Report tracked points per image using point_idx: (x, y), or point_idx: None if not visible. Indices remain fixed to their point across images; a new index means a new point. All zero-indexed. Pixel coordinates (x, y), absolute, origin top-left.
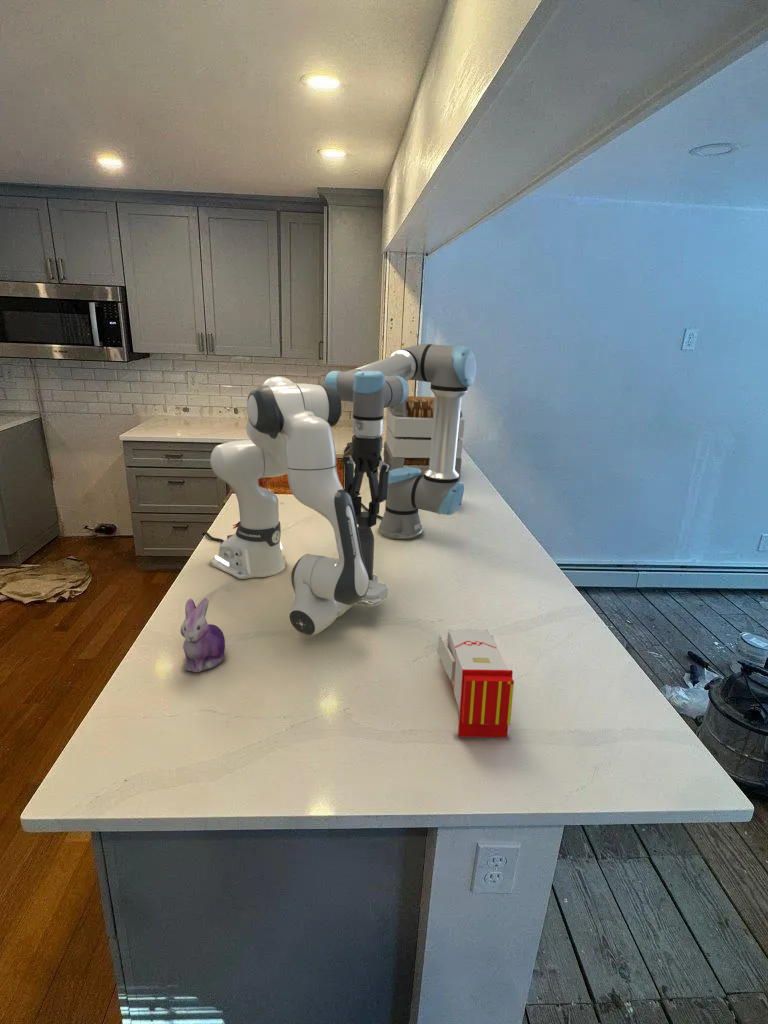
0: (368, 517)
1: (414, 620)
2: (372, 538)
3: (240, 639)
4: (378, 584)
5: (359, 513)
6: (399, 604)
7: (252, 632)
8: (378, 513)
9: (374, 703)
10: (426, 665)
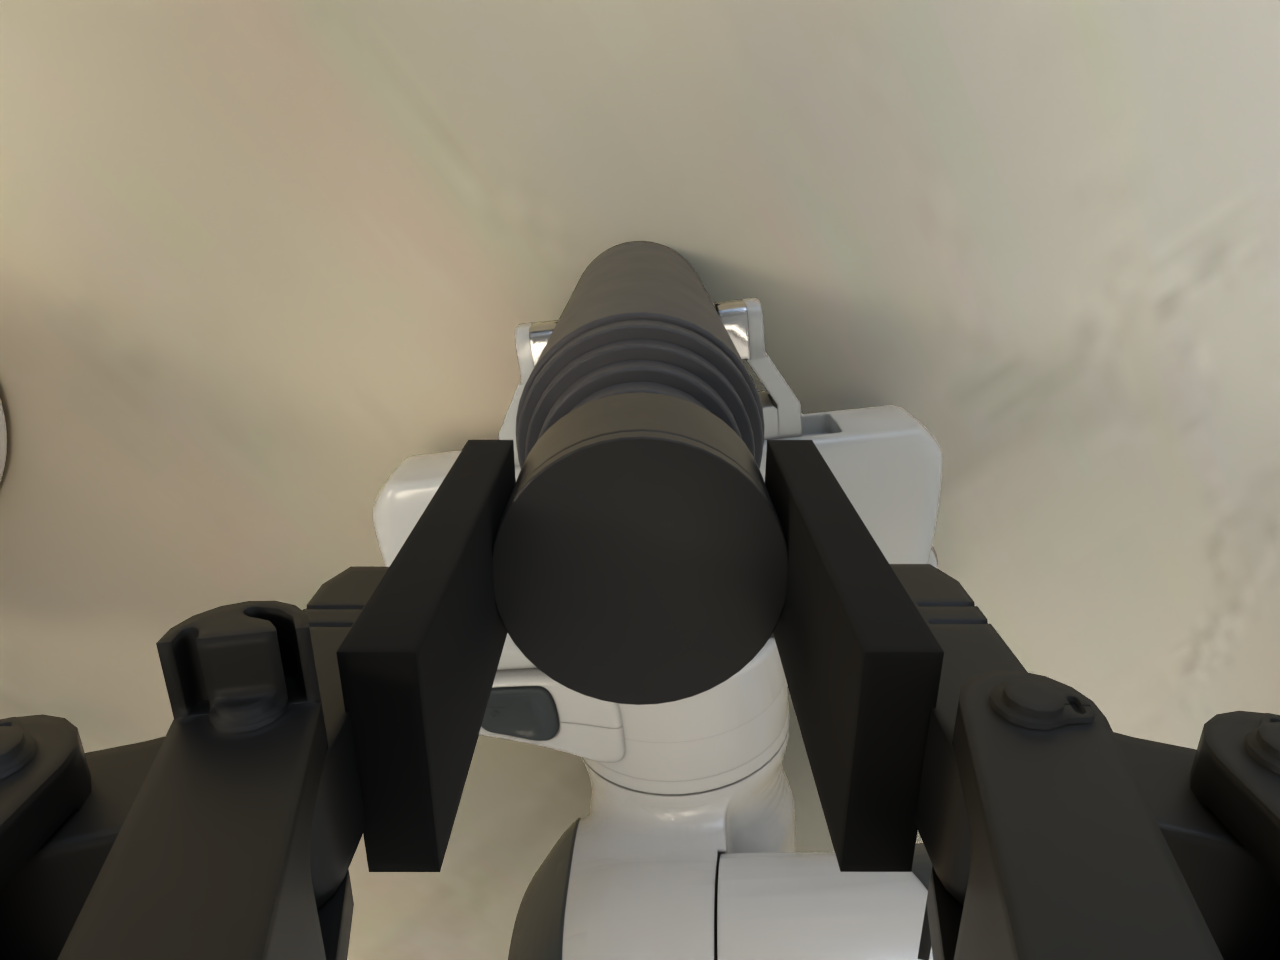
0: (781, 661)
1: (1063, 358)
2: (761, 437)
3: (455, 930)
4: (874, 477)
5: (546, 607)
6: (899, 243)
7: (450, 877)
8: (931, 570)
9: None
10: (1253, 663)
